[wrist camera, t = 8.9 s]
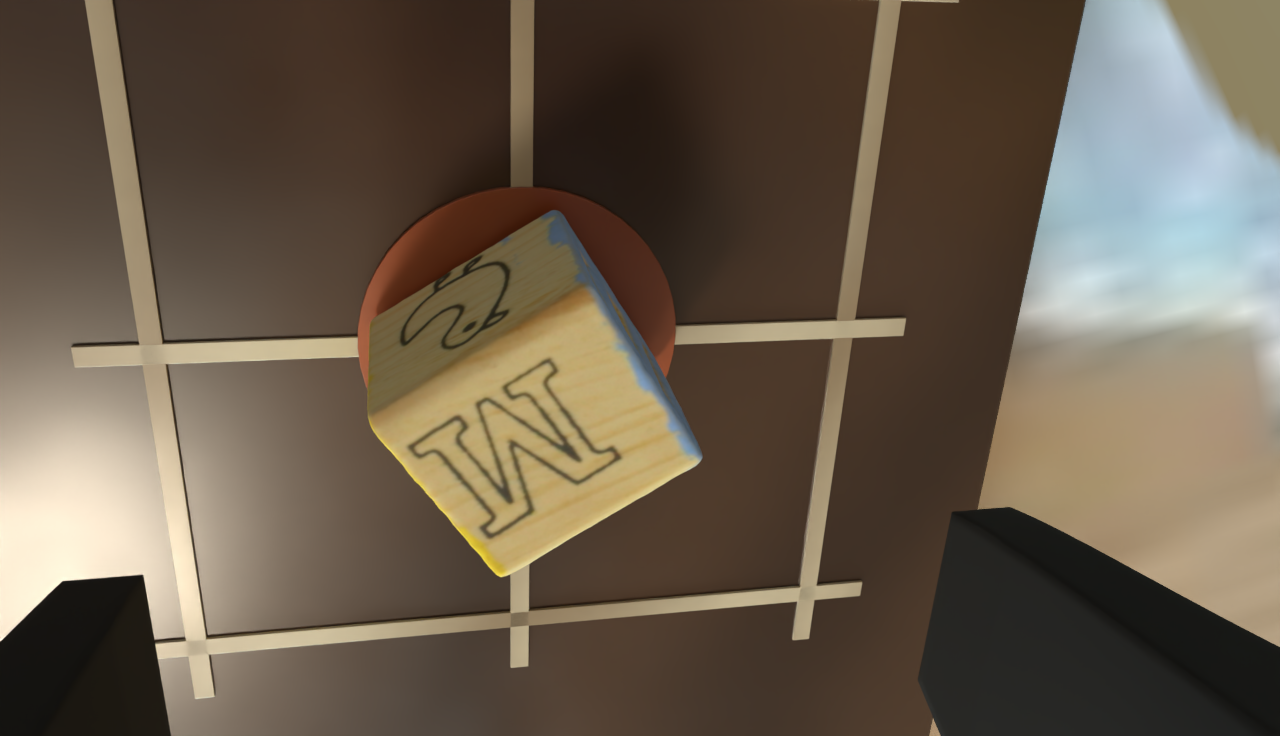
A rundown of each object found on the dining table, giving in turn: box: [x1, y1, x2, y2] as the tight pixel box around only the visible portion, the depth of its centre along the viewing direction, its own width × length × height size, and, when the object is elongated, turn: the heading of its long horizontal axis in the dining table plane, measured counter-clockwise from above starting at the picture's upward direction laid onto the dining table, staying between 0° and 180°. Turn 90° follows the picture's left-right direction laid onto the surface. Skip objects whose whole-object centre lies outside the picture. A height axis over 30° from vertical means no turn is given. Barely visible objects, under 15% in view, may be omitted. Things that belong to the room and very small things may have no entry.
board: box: [0, 0, 1086, 736], centre depth 16 cm, size 16×20×1 cm
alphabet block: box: [367, 210, 703, 577], centre depth 14 cm, size 3×3×3 cm
